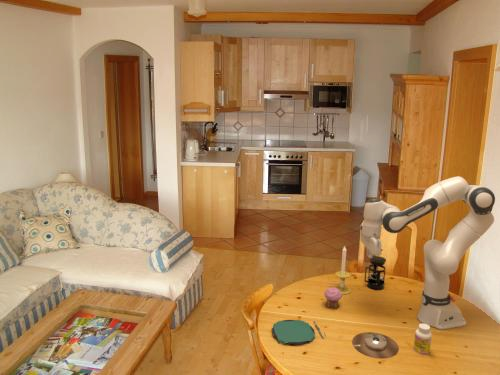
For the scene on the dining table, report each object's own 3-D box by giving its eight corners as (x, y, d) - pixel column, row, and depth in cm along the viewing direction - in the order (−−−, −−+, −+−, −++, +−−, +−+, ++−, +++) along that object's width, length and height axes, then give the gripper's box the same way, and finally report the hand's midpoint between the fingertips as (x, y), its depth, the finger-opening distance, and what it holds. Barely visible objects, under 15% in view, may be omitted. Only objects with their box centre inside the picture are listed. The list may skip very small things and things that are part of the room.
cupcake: (323, 309, 235) (324, 291, 232) (324, 301, 243) (324, 284, 240) (341, 310, 233) (342, 293, 231) (341, 302, 241) (342, 285, 239)
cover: (382, 339, 206) (382, 333, 205) (389, 351, 197) (389, 344, 196) (362, 339, 205) (362, 333, 205) (368, 351, 197) (369, 345, 196)
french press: (383, 283, 264) (386, 246, 259) (387, 290, 255) (390, 252, 250) (362, 282, 265) (365, 245, 259) (365, 290, 256) (368, 251, 250)
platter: (388, 333, 212) (388, 331, 212) (406, 359, 193) (406, 357, 193) (346, 334, 211) (346, 333, 210) (360, 361, 191) (360, 359, 191)
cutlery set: (267, 324, 220) (268, 320, 220) (327, 320, 225) (327, 316, 225) (277, 348, 201) (277, 344, 201) (341, 343, 206) (342, 339, 206)
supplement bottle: (410, 352, 199) (413, 326, 196) (417, 346, 204) (420, 320, 200) (425, 359, 194) (428, 332, 191) (432, 352, 199) (435, 326, 196)
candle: (330, 286, 259) (332, 242, 253) (346, 285, 261) (349, 241, 254) (336, 295, 250) (339, 249, 243) (353, 293, 251) (357, 248, 245)
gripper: (385, 238, 214) (383, 265, 218) (370, 224, 234) (368, 249, 237) (372, 238, 214) (370, 265, 217) (358, 224, 233) (357, 249, 237)
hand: (369, 257), depth 227 cm, fingers closed
